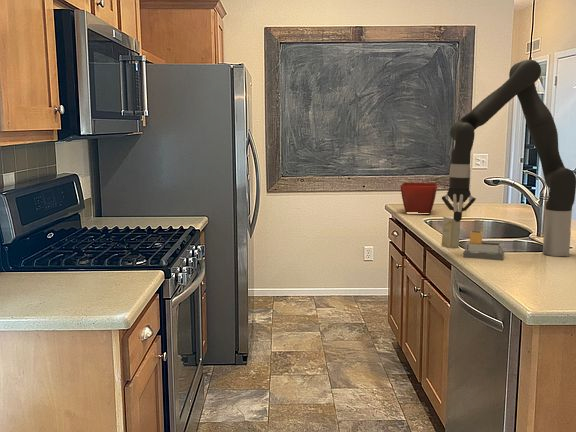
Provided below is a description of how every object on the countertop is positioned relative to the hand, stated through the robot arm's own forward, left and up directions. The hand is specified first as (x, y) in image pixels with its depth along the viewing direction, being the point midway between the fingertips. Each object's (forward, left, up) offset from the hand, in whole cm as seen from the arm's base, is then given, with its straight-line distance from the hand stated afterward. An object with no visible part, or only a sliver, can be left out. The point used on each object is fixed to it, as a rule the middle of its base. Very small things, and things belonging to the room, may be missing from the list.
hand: (457, 221), depth 230 cm
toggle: (-7, 0, -11) cm, 13 cm away
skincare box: (+4, -15, -13) cm, 20 cm away
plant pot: (+35, -107, -13) cm, 113 cm away
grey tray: (-10, 0, -13) cm, 16 cm away
